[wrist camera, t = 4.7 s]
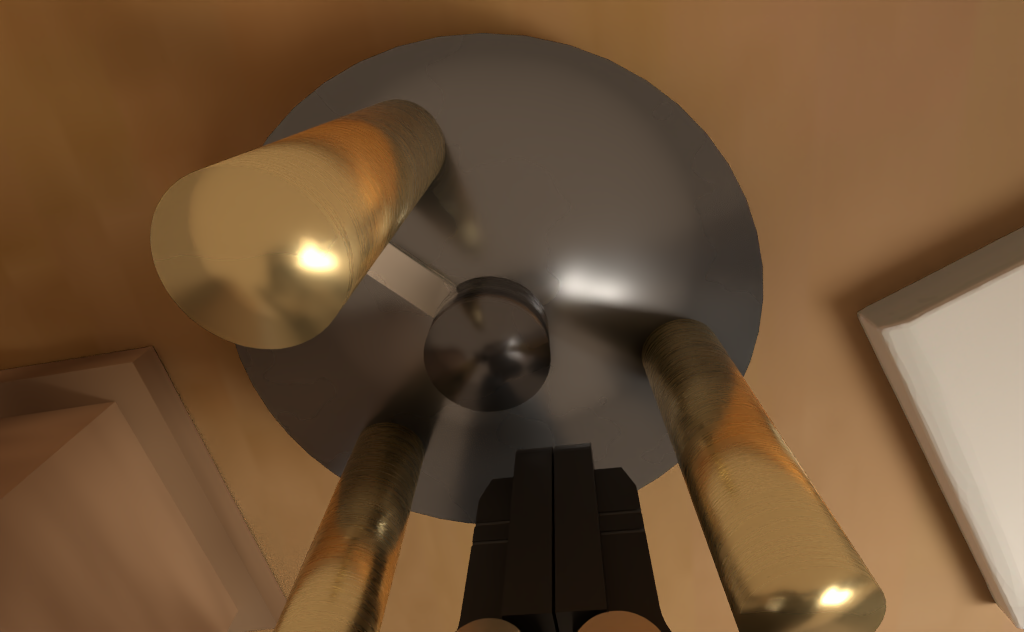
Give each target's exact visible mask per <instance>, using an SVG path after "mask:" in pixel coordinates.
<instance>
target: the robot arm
mask: <svg viewBox="0 0 1024 632" xmlns="http://www.w3.org/2000/svg"><path fill="white" fill-rule="evenodd" d="M475 523H476V527H475V528H474V534H473V541H472V542H473V546H472V547H471V554H470V560H469V566H468V573H467V579H466V585H465V592H464V598H463V604H462V611H461V617H460V622H459V626H458V629H457V631H456V632H671V631H670V629H669V628H668V626H667V624H666V623H665V621H664V618H663V616H662V613H661V610H660V606H659V601H658V596H657V590H656V585H655V580H654V575H653V570H652V565H651V559H650V554H649V549H648V544H647V539H646V533H645V529H644V523H643V518H642V513H641V508H640V502H639V497H638V492H637V487H636V485H635V483H634V482H633V481H632V480H631V478H630V477H629V476H628V475H627V473H626V472H625V471H624V470H623V468H622V467H616V468H605V469H595V467H594V460H593V453H592V446H591V443H581V444H571V445H561V446H555V447H554V449H553V447H542V448H532V449H522V450H517V451H516V454H515V465H514V476H513V477H510V478H499V479H492V481H491V482H490V484H489V485H488V487H487V488H486V490H485V491H484V493H483V494H482V496H481V497H480V499H479V503H478V509H477V515H476V522H475Z"/></svg>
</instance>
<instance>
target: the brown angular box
mask: <svg viewBox="0 0 1024 632" xmlns="http://www.w3.org/2000/svg"><path fill="white" fill-rule="evenodd" d="M286 601H287V600H286V599H285V597H284V595H283V593H282V591H281V589H280V587H279V585H278V583H277V581H276V580H275V578H274V576H273V574H272V572H271V570H270V568H269V566H268V564H267V563H266V561H265V559H264V557H263V555H262V553H261V551H260V549H259V547H258V545H257V544H256V542H255V540H254V538H253V536H252V534H251V532H250V530H249V528H248V526H247V525H246V523H245V521H244V519H243V517H242V515H241V513H240V511H239V509H238V507H237V506H236V504H235V502H234V500H233V498H232V496H231V494H230V492H229V490H228V488H227V487H226V485H225V483H224V481H223V479H222V477H221V475H220V473H219V471H218V469H217V468H216V466H215V464H214V462H213V460H212V458H211V456H210V454H209V452H208V450H207V449H206V447H205V445H204V443H203V441H202V439H201V437H200V435H199V433H198V431H197V430H196V428H195V426H194V424H193V422H192V420H191V418H190V416H189V414H188V412H187V411H186V409H185V407H184V405H183V403H182V401H181V399H180V397H179V395H178V393H177V392H176V390H175V388H174V386H173V384H172V382H171V380H170V378H169V376H168V375H167V373H166V371H165V369H164V367H163V365H162V363H161V361H160V359H159V357H158V356H157V354H156V352H155V350H154V348H153V346H151V347H145V348H139V349H132V350H126V351H120V352H114V353H107V354H101V355H95V356H88V357H82V358H76V359H69V360H63V361H57V362H50V363H44V364H38V365H31V366H25V367H19V368H13V369H6V370H0V632H245V631H256V630H266V629H275V627H276V624H277V622H278V620H279V617H280V615H281V613H282V611H283V608H284V606H285V604H286Z"/></svg>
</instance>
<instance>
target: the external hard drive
mask: <svg viewBox="0 0 1024 632" xmlns="http://www.w3.org/2000/svg"><path fill="white" fill-rule="evenodd" d="M857 316H858V319H859V321H860V323H861V325H862V327H863V329H864V331H865V333H866V336H867V338H868V340H869V342H870V343H871V345H872V348H873V350H874V352H875V354H876V356H877V358H878V360H879V362H880V365H881V367H882V369H883V371H884V373H885V375H886V377H887V379H888V381H889V383H890V385H891V387H892V389H893V391H894V393H895V395H896V397H897V399H898V401H899V403H900V405H901V408H902V410H903V412H904V414H905V416H906V418H907V420H908V422H909V424H910V426H911V428H912V430H913V432H914V434H915V436H916V439H917V441H918V443H919V445H920V447H921V449H922V451H923V453H924V455H925V457H926V459H927V461H928V464H929V466H930V468H931V470H932V472H933V474H934V476H935V478H936V480H937V482H938V485H939V487H940V489H941V491H942V493H943V495H944V497H945V499H946V501H947V503H948V505H949V507H950V509H951V511H952V513H953V515H954V517H955V520H956V522H957V524H958V526H959V528H960V530H961V532H962V534H963V536H964V538H965V540H966V542H967V544H968V547H969V549H970V551H971V553H972V555H973V557H974V559H975V561H976V563H977V565H978V567H979V569H980V571H981V573H982V575H983V577H984V579H985V581H986V584H987V587H988V589H989V591H990V593H991V595H992V597H993V599H994V601H995V603H996V604H997V605H998V606H999V607H1000V608H1001V610H1002V611H1003V612H1004V613H1005V614H1006V615H1007V616H1008V618H1009V619H1010V620H1011V621H1012V622H1013V624H1014V625H1015V626H1016V627H1017V628H1020V629H1024V227H1022V228H1020V229H1018V230H1016V231H1014V232H1012V233H1010V234H1008V235H1006V236H1004V237H1002V238H1000V239H998V240H996V241H994V242H992V243H991V244H989V245H987V246H985V247H983V248H981V249H979V250H977V251H975V252H973V253H971V254H969V255H967V256H965V257H963V258H961V259H959V260H957V261H956V262H954V263H952V264H950V265H948V266H946V267H944V268H942V269H940V270H938V271H936V272H934V273H932V274H930V275H928V276H926V277H924V278H922V279H920V280H918V281H916V282H915V283H913V284H911V285H909V286H907V287H905V288H903V289H901V290H899V291H897V292H895V293H893V294H891V295H889V296H887V297H885V298H883V299H881V300H879V301H877V302H875V303H873V304H871V305H869V306H867V307H866V308H864V309H862V310H860V311H859V312H858V313H857Z"/></svg>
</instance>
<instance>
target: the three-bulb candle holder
mask: <svg viewBox="0 0 1024 632" xmlns="http://www.w3.org/2000/svg"><path fill="white" fill-rule="evenodd" d="M150 243H151V253H152V257H153V261H154V265H155V267H156V270H157V273H158V275H159V277H160V279H161V281H162V283H163V285H164V287H165V289H166V290H167V292H168V293H169V295H170V296H171V298H172V299H173V300H174V301H175V303H176V304H177V305H178V306H179V307H180V309H182V310H183V311H184V312H185V313H186V314H187V315H188V316H189V317H190V318H191V319H192V320H193V321H195V322H196V323H197V324H198V325H200V326H201V327H203V328H204V329H206V330H207V331H209V332H210V333H212V334H214V335H216V336H218V337H220V338H222V339H225V340H227V341H230V342H232V343H235V345H236V348H237V351H238V354H239V357H240V359H241V362H242V364H243V366H244V368H245V370H246V372H247V374H248V376H249V378H250V380H251V382H252V384H253V386H254V388H255V389H256V391H257V393H258V394H259V396H260V397H261V399H262V400H263V402H264V403H265V405H266V407H267V408H268V410H269V411H270V412H271V414H272V415H273V416H274V417H275V418H276V420H277V421H278V422H279V423H280V425H281V426H282V427H283V428H284V429H285V431H286V432H287V433H288V434H289V435H290V436H291V437H292V438H293V439H294V440H295V441H296V442H297V443H298V444H299V445H300V446H301V447H302V448H303V449H304V450H305V451H306V452H307V453H308V454H309V455H311V456H312V457H313V458H314V459H316V460H317V461H318V462H320V463H321V464H322V465H324V466H325V467H326V468H327V469H329V470H330V471H331V472H333V473H334V474H336V475H337V476H339V477H340V480H339V483H338V485H337V487H336V489H335V492H334V494H333V496H332V499H331V501H330V503H329V505H328V508H327V510H326V512H325V515H324V517H323V519H322V521H321V524H320V526H319V528H318V531H317V533H316V535H315V537H314V540H313V542H312V544H311V547H310V549H309V551H308V553H307V556H306V558H305V560H304V563H303V565H302V567H301V569H300V572H299V574H298V576H297V579H296V581H295V583H294V585H293V588H292V590H291V592H290V595H289V597H288V599H287V601H286V604H285V606H284V608H283V611H282V613H281V615H280V617H279V620H278V622H277V624H276V627H275V629H274V631H273V632H380V628H381V624H382V620H383V616H384V612H385V608H386V604H387V600H388V596H389V592H390V589H391V585H392V581H393V577H394V573H395V569H396V565H397V561H398V557H399V553H400V549H401V545H402V542H403V538H404V534H405V530H406V526H407V522H408V518H409V514H410V511H413V512H416V513H420V514H424V515H428V516H432V517H436V518H439V519H446V520H452V521H458V522H464V523H475V522H476V515H477V509H478V503H479V499H480V497H481V496H482V494H483V493H484V491H485V490H486V488H487V487H488V485H489V484H490V482H491V481H492V479H499V478H510V477H513V476H514V465H515V454H516V451H517V450H522V449H532V448H542V447H553V449H554V447H555V446H561V445H571V444H581V443H591V446H592V453H593V460H594V467H595V469H605V468H616V467H622V468H623V470H624V471H625V472H626V473H627V475H628V476H629V477H630V478H631V480H632V481H633V482H634V483H635V485H636V487H637V490H639V489H640V488H642V487H644V486H645V485H647V484H649V483H650V482H652V481H654V480H655V479H657V478H659V477H660V476H661V475H663V474H664V473H665V472H667V471H668V470H669V469H670V468H672V467H673V466H674V465H676V464H677V463H679V466H680V469H681V471H682V474H683V477H684V480H685V483H686V485H687V488H688V491H689V494H690V496H691V499H692V502H693V505H694V508H695V510H696V513H697V516H698V519H699V521H700V524H701V527H702V530H703V532H704V535H705V538H706V541H707V544H708V546H709V549H710V552H711V555H712V557H713V560H714V563H715V566H716V569H717V571H718V574H719V577H720V580H721V582H722V585H723V588H724V591H725V593H726V596H727V599H728V602H729V605H730V607H731V610H732V613H733V616H734V618H735V621H736V624H737V627H738V630H739V632H875V631H876V629H877V628H878V627H879V625H880V624H881V622H882V620H883V618H884V615H885V611H886V600H885V597H884V594H883V592H882V590H881V588H880V587H879V585H878V584H877V582H876V581H875V579H874V578H873V576H872V575H871V573H870V572H869V570H868V568H867V567H866V565H865V564H864V562H863V561H862V559H861V558H860V556H859V555H858V553H857V552H856V550H855V548H854V547H853V545H852V544H851V542H850V541H849V539H848V538H847V536H846V535H845V533H844V532H843V530H842V528H841V527H840V525H839V524H838V522H837V521H836V519H835V518H834V516H833V515H832V513H831V512H830V510H829V509H828V507H827V505H826V504H825V502H824V501H823V499H822V498H821V496H820V495H819V493H818V492H817V490H816V489H815V487H814V485H813V484H812V482H811V481H810V479H809V478H808V476H807V475H806V473H805V472H804V470H803V469H802V467H801V465H800V464H799V462H798V461H797V459H796V458H795V456H794V455H793V453H792V452H791V450H790V449H789V447H788V445H787V444H786V442H785V441H784V439H783V438H782V436H781V435H780V433H779V432H778V430H777V429H776V427H775V426H774V424H773V422H772V421H771V419H770V418H769V416H768V415H767V413H766V412H765V410H764V409H763V407H762V406H761V404H760V402H759V401H758V399H757V398H756V396H755V395H754V393H753V392H752V390H751V389H750V387H749V386H748V384H747V382H746V381H745V379H744V378H743V377H744V374H745V372H746V370H747V368H748V365H749V363H750V360H751V357H752V353H753V350H754V346H755V343H756V339H757V336H758V332H759V326H760V318H761V311H762V303H763V266H762V260H761V254H760V248H759V242H758V236H757V231H756V228H755V225H754V222H753V219H752V216H751V213H750V209H749V206H748V203H747V200H746V198H745V196H744V194H743V192H742V190H741V188H740V186H739V184H738V182H737V180H736V178H735V176H734V174H733V172H732V170H731V168H730V166H729V164H728V163H727V162H726V160H725V159H724V157H723V156H722V155H721V153H720V152H719V150H718V149H717V148H716V146H715V145H714V143H713V142H712V141H711V139H710V138H709V136H708V135H707V134H706V133H705V132H704V131H703V129H702V128H701V127H700V126H699V125H698V124H697V123H696V122H695V121H694V120H693V119H692V118H691V117H690V116H689V115H688V114H687V113H686V112H685V111H684V110H683V109H682V108H681V107H680V106H679V105H678V104H677V103H675V102H674V101H673V100H671V99H670V98H669V97H667V96H666V95H665V94H664V93H662V92H661V91H660V90H658V89H657V88H656V87H654V86H653V85H652V84H650V83H649V82H648V81H646V80H645V79H643V78H641V77H639V76H637V75H636V74H634V73H632V72H630V71H628V70H627V69H625V68H623V67H621V66H619V65H617V64H616V63H614V62H612V61H610V60H608V59H605V58H603V57H600V56H597V55H595V54H592V53H589V52H586V51H584V50H581V49H578V48H576V47H573V46H570V45H567V44H562V43H557V42H553V41H548V40H543V39H539V38H534V37H529V36H520V35H505V34H489V33H478V34H466V35H454V36H442V37H436V38H432V39H428V40H423V41H419V42H415V43H411V44H407V45H402V46H398V47H395V48H393V49H391V50H388V51H386V52H383V53H381V54H378V55H376V56H373V57H371V58H368V59H366V60H363V61H361V62H359V63H357V64H355V65H353V66H352V67H350V68H348V69H347V70H345V71H343V72H342V73H340V74H338V75H337V76H335V77H333V78H332V79H330V80H328V81H326V82H325V83H323V84H322V85H321V86H320V87H319V88H317V89H316V90H315V91H314V92H313V93H311V94H310V95H309V96H308V97H306V98H305V99H304V100H303V101H302V102H300V103H299V104H298V105H297V106H296V107H294V108H293V109H292V111H291V112H290V113H289V114H288V115H287V116H286V117H285V119H284V120H283V121H282V122H281V123H280V124H279V125H278V126H277V128H276V129H275V130H274V131H273V132H272V133H271V134H270V135H269V137H268V138H267V140H266V141H265V143H264V145H263V146H262V147H259V148H257V149H254V150H251V151H248V152H246V153H243V154H240V155H238V156H235V157H232V158H230V159H227V160H224V161H221V162H219V163H216V164H213V165H211V166H208V167H205V168H203V169H200V170H197V171H195V172H192V173H190V174H188V175H186V176H185V177H183V178H181V179H179V180H178V181H177V182H176V183H175V184H173V185H172V186H171V187H170V188H169V189H168V190H167V192H166V193H165V194H164V195H163V197H162V198H161V200H160V202H159V203H158V205H157V207H156V210H155V213H154V215H153V219H152V224H151V233H150ZM475 524H476V523H475Z"/></svg>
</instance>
